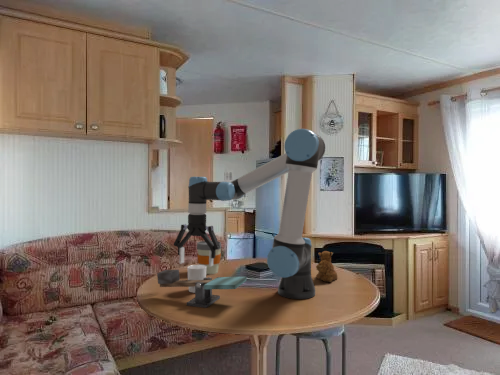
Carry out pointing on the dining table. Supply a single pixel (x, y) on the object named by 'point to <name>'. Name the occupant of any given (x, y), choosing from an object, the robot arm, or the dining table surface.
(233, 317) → the dining table surface
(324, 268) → the stuffed squirrel
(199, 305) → the beam stand
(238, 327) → the dining table surface
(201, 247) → the reusable coffee cup
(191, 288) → the white cup
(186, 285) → the balance beam
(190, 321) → the dining table surface
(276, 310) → the dining table surface
